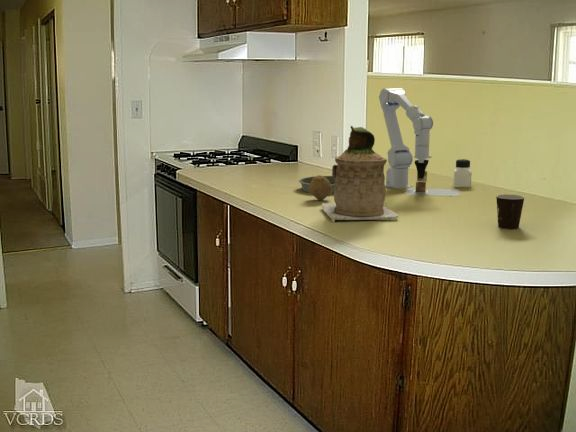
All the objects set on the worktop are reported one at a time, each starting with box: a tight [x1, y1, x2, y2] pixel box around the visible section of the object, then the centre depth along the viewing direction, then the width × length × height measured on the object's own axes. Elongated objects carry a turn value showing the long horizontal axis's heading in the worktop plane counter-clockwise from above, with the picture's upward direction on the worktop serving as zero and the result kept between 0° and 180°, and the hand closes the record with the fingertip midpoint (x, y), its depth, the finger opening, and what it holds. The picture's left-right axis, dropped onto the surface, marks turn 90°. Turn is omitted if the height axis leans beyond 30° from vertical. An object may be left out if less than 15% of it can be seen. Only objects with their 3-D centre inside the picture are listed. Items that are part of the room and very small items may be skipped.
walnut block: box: [415, 181, 427, 193], centre depth 272 cm, size 4×4×4 cm
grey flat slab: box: [405, 187, 461, 197], centre depth 272 cm, size 22×16×1 cm
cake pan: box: [298, 175, 335, 195], centre depth 283 cm, size 25×25×4 cm
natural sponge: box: [309, 174, 332, 201], centre depth 258 cm, size 9×9×10 cm
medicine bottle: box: [453, 158, 472, 188], centre depth 286 cm, size 7×7×12 cm
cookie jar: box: [321, 125, 399, 223], centre depth 229 cm, size 25×25×32 cm
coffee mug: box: [495, 193, 525, 230], centre depth 208 cm, size 12×9×10 cm
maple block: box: [416, 170, 428, 183], centre depth 271 cm, size 4×4×4 cm
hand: (421, 177), depth 271 cm, fingers closed on maple block, 4 cm apart
